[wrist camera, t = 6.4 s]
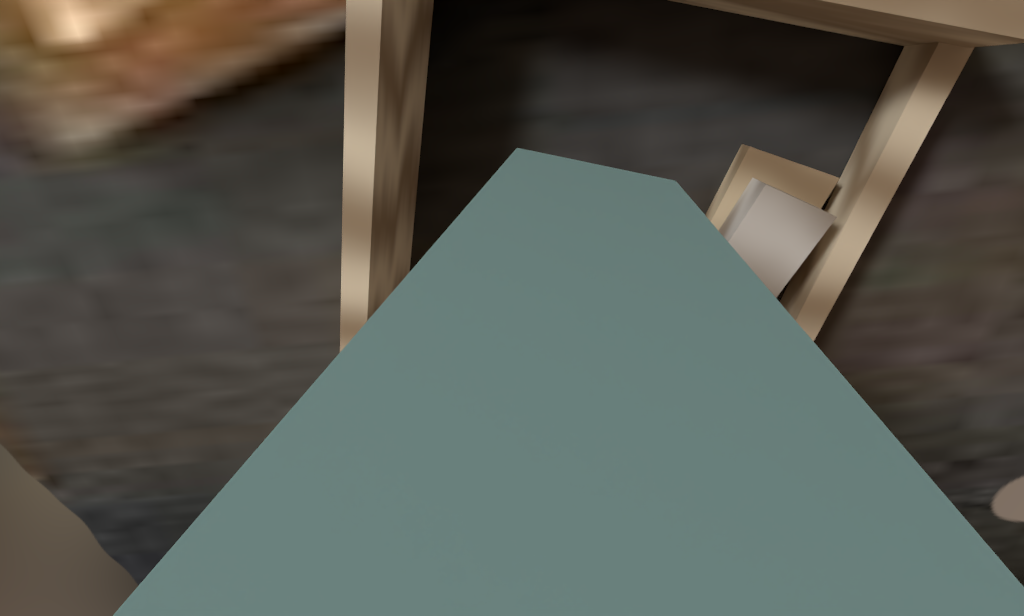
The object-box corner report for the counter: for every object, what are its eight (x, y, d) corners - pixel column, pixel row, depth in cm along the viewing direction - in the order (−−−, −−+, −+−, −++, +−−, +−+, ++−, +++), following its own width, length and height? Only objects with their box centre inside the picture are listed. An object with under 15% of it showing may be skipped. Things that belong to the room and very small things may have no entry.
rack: (406, -88, 23) (342, -150, 17) (954, 16, 22) (1099, -10, 16) (377, 373, 36) (334, 434, 30) (727, 454, 35) (759, 536, 28)
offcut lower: (738, 142, 26) (749, 146, 25) (822, 171, 26) (839, 178, 25) (641, 333, 32) (644, 348, 30) (710, 357, 32) (718, 373, 30)
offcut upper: (752, 177, 25) (766, 184, 23) (818, 207, 25) (837, 217, 24) (656, 327, 30) (662, 342, 28) (713, 352, 30) (722, 369, 28)
